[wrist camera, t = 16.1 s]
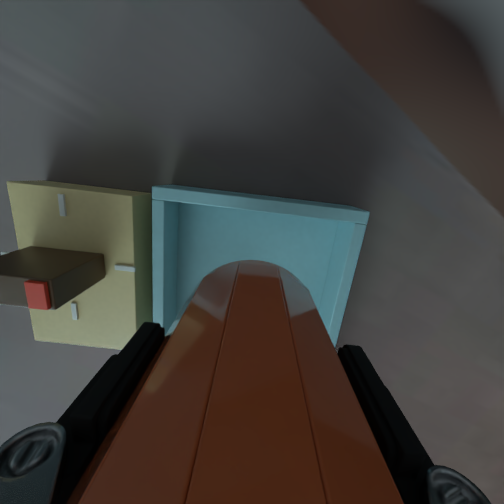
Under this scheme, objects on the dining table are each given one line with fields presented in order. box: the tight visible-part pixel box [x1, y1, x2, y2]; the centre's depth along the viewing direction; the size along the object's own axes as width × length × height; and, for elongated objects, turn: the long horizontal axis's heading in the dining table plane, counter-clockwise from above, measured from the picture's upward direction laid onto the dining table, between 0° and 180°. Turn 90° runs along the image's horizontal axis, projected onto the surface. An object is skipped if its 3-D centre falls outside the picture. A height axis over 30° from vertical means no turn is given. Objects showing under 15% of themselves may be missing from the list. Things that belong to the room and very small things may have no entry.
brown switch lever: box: [0, 246, 105, 310], centre depth 15 cm, size 5×2×5 cm, turn 84°
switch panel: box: [1, 181, 152, 350], centre depth 19 cm, size 12×9×3 cm
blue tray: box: [152, 184, 370, 348], centre depth 20 cm, size 22×14×3 cm, turn 173°
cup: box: [66, 260, 404, 504], centre depth 8 cm, size 7×7×10 cm
